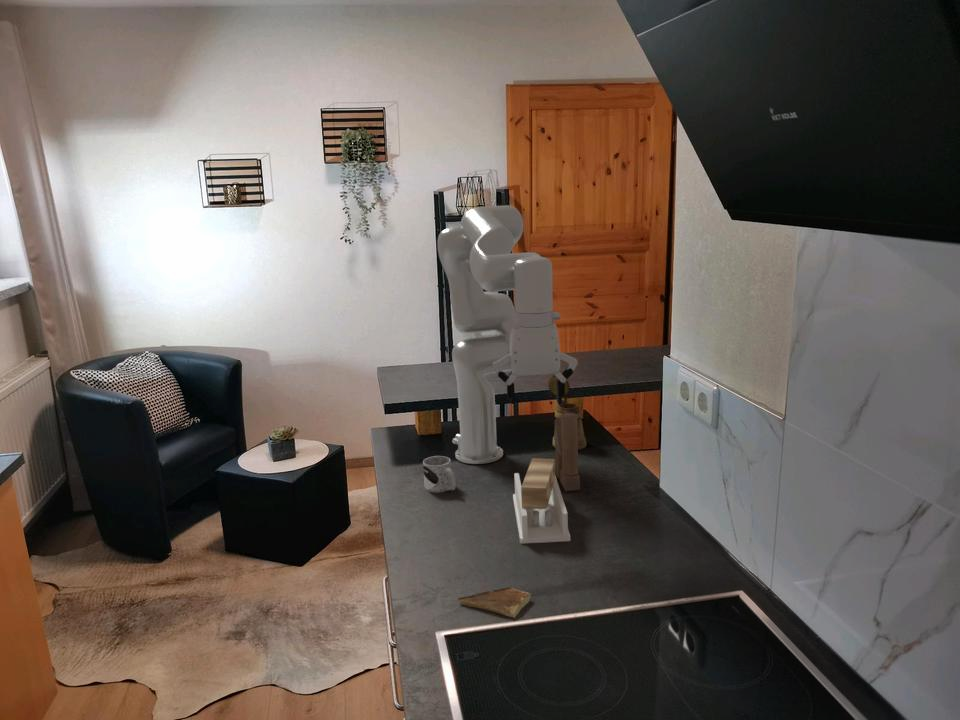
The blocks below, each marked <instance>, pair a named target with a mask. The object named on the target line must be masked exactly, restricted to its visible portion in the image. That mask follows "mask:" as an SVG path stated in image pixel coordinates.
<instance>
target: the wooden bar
mask: <svg viewBox="0 0 960 720" xmlns="http://www.w3.org/2000/svg"><path fill="white" fill-rule="evenodd" d="M555 476H556V464H555V458H534V457H533V458H531V460H530V464H529V466H528V468H527V471H526V474H525V476H524V479H523V482H522V483H521V496H522V508H534V509H547V506H548V502H549V499H550V495H551V492H552V488H553V485H554V481H555Z"/></svg>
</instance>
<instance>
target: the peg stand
mask: <svg viewBox="0 0 960 720" xmlns="http://www.w3.org/2000/svg"><path fill="white" fill-rule="evenodd" d="M513 475H514V478H513V479H514V493H513V494H512V500H513V501H512V502H513V505H514V512H515V513H514V514H515V519H516V526H517V530H518V538H519V544H537V543H538V544H539V543H556V542H571V534H570V531H569V526H568V525H569V524H568V523H569V522H568V519H569V517H568V516H569V515H568V511H567V507H566V504H565V502H564V499H563V495H562V492H561V489H560V485H559V483H558V480H557V479H558V478H557V475H555V481H554V485H553V488H552V492H551V495H550V499H549V502H548V506H547V509H534V508H522V496H521V486H522V483H521V478H520V473H519V472H515V473H514V474H513Z"/></svg>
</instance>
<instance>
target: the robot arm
mask: <svg viewBox="0 0 960 720" xmlns="http://www.w3.org/2000/svg"><path fill="white" fill-rule="evenodd" d="M523 232H524V219H523V216H522V214H521V211H519V210H518V209H517V208H516V207H515V206H513V205H509V204H506V205H489V206H488V205H487V206H476V207H473V208H471V209H469V210H467V211H466V212H464V214H463V215H462V217H461V221H460V225H454V226H451V227H446V228H445V229H443V230H441V232H440V233H439V234H438V237H437V252H438V253H437V254H438V257H439V261H440V263H441V267H443V270H444V273H445V276H446V278H447V281H448V286H449V293H450V294H449V295H450V302H451V310H452V311H451V312H452V317H453V323H454V326H455V329H456V330H457V331H458V332H460V333H462V334H474V333H483V332H485V333H487V332H492V331H493V332H496V334H497V335H491V336H481V337H473V338H466V339H463V340H461V341H458V342H457V343H456V344H455V345H454V346H453V348H452V351H451V357H452V364H453V368H454V373H455V378H456V379H455V380H456V385H457V386H456V387H457V388H456V389H457V401H458V402H457V403H458V418H459V433H457V434H455V436H454V437H453V438H452V440H451V442H452V443H453V444H454V445H457V449H456V450H455V453H454V455H455V459H456V460H458V461H459V462H461V463H464V464H471V465H482V464H483V465H484V464H490V463H493V462H496V461H498V460H500V459H501V458H502V457H503V456H504V450H503V448H501V446H498V444H497V442H498V441H497V440H498V439H497V421H496V419H497V418H496V401H495V400H496V398H495V397H496V396H495V394H496V393H495V390H494V389H495V388H494V387H493V385H492V384H491V383H490V382H489V381H488V380H487V379H486V378H485V376H487V375H491V374H497V377H498V378H499V379H500V380H501V381H502V382H504V383H505V384H506V396H507V397H506V398H507V400H510V404H511V405H514V404H516V399H515V397H516V396H515V395H516V393H515V383H514V382H515V380H516V379H517V378H518V377H528V376H529V377H530V376H533V377H534V376H551V375H552V376H553V375H555V376H556V377H557V378H558V379H557V380H556V391H557V398H556V401H557V400H558V401H559V402H562V397H564V396H565V382H566V380H567V381H568V379H569V378H570V377H572V375H574V372H575V370H576V368H577V366H578V363H579V361H578V360H577V358H575V357H572V356H571V355H568V354H566V353H564V352H562V351H561V349H560V341H559V332H558V331H559V330H558V327H557V324H556V323H554V322H555V321H556V320H560V319H561V313H560V312H556V311H554V308H553V307H554V306H553V305H554V304H553V302H554V299H553V297H554V296H553V263H552V261H551V260H550V259H549V257H548V258H547V257H543V256H541V255H540V254H539V253H536V252H534V251H533V252H531V251H529V252H517V253H516V252H514V253H512V251H513V249H514V246H515V245H516V244H517V243H518V242H519V240H520V239H521V237H522V234H523ZM468 260H469V261H468ZM484 290H485V291H487V292H490V293H489V294H488V293H487V294H486V293H485V292H484ZM506 291H514V304H513V301H512V299H511V298H510V296H508V295H507V294H505V293H500V292H506ZM491 292H492V293H491ZM497 292H498V293H497ZM561 361H564V362H566V363H568V367H567V368H566V369H565V370H564V371H561ZM506 372H508V374H506Z"/></svg>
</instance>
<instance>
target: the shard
mask: <svg viewBox="0 0 960 720" xmlns="http://www.w3.org/2000/svg"><path fill="white" fill-rule="evenodd" d="M530 598H531V593H530V592H527V591H523V590H519V589H515V588H514V587H513V586H510V587H504V588H500V589H492V590H488V591H484V592H479V593H475V594H472V595H469V596H464V597H458V598H457V600H458V601H459V602H460V605H463V606H466V607H467V606H468V607H473V608H477V609H482V610H486V611H490V612H492V613H497V614H500V615H503V616H507V617H508V618H509V617H510V618H513V619H515V618H516V616H517V615H519V613H520V611H522V609H523V608H524V607H525V606H526V605H527V604H528V603H529V602H530V600H531V599H530Z"/></svg>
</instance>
